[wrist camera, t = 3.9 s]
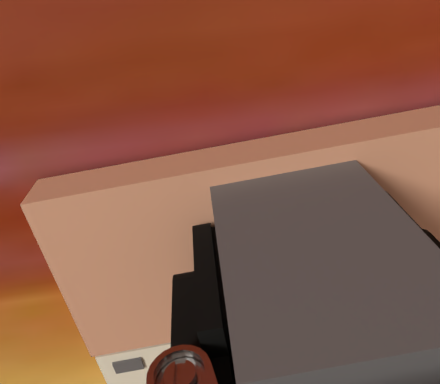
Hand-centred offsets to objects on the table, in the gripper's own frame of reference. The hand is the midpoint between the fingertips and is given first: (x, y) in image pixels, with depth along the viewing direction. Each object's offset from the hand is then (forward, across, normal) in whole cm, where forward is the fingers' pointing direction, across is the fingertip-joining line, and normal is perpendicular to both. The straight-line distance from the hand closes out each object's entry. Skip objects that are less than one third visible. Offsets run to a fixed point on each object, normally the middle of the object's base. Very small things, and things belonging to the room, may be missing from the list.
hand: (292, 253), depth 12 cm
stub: (+2, 0, 0) cm, 2 cm away
